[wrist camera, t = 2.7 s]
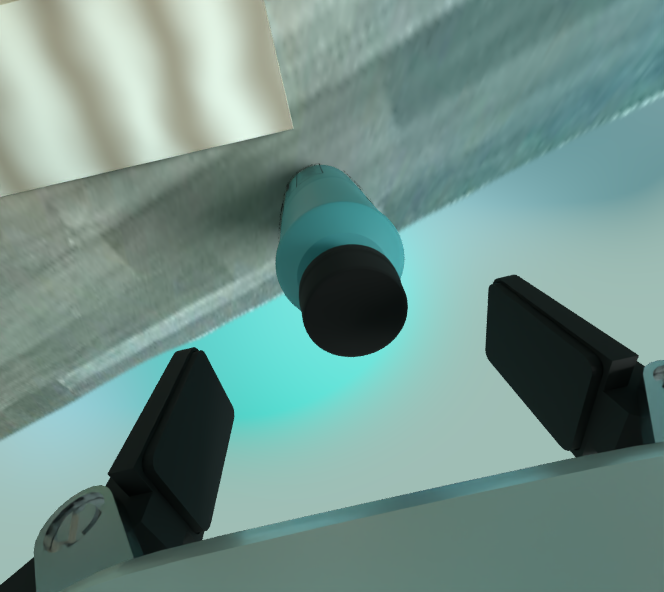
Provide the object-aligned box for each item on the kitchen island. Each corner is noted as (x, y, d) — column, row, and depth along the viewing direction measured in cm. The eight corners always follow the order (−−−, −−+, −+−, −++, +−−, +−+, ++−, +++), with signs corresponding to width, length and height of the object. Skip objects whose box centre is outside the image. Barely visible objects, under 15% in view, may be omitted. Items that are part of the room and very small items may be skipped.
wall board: (243, -86, 19) (197, -258, 11) (293, 128, 25) (289, 130, 17) (-148, 12, 20) (-498, -75, 11) (-9, 198, 26) (-167, 237, 17)
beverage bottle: (280, 162, 26) (241, 237, 9) (357, 158, 27) (462, 222, 9) (288, 235, 30) (271, 395, 12) (357, 231, 30) (435, 379, 13)
